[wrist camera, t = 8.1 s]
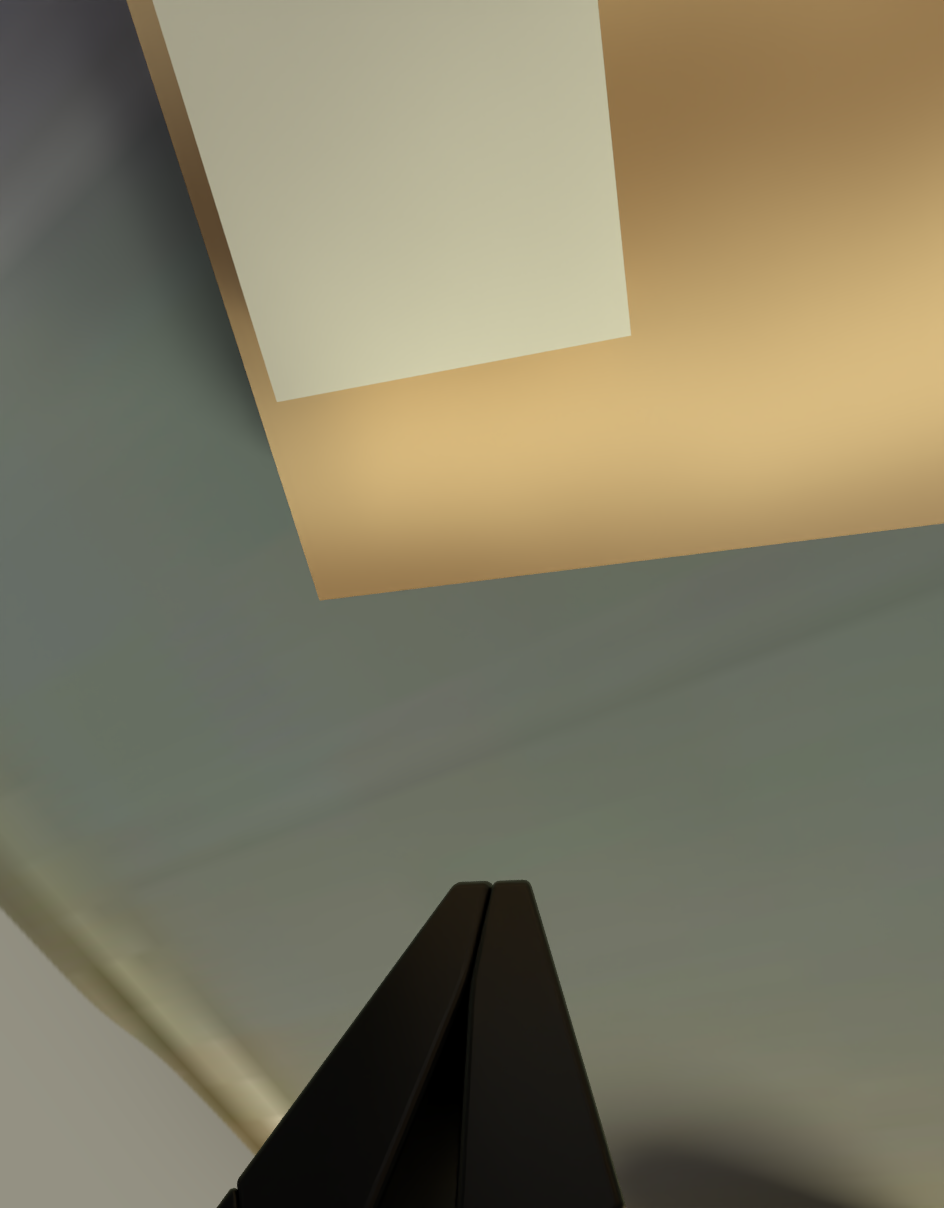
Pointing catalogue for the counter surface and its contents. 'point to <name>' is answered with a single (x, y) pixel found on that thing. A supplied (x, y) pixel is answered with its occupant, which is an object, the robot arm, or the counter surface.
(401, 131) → the off-white tile
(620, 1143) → the counter surface
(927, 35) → the wooden flat block
